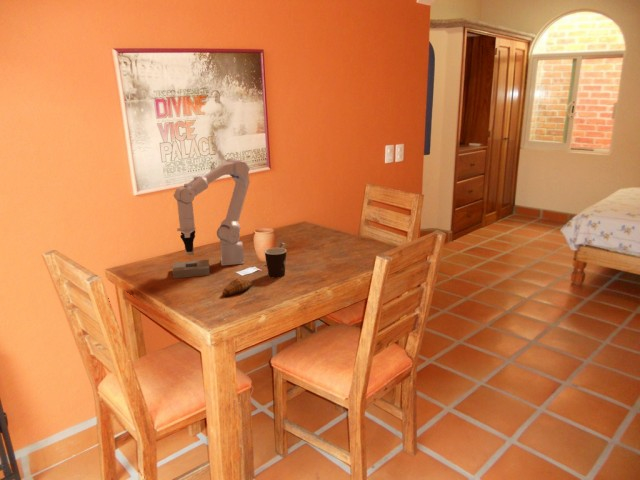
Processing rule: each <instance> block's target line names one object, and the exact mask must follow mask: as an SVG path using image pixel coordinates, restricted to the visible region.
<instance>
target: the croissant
mask: <svg viewBox="0 0 640 480" xmlns="http://www.w3.org/2000/svg"><path fill="white" fill-rule="evenodd" d="M253 285H254V284H253V282H252V280H248V279H241V278H235V279H232V280H231V281H230V282H229V283H228V284H227V285H226V286H225V287H224V288H223V291H222V293H221V294H222V296H224V297H227V296H233V295H236V294H239V293H244V292H245V291H246V290H249V289H250V288H251V287H252V286H253Z"/></svg>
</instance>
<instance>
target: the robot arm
mask: <svg viewBox="0 0 640 480" xmlns="http://www.w3.org/2000/svg"><path fill="white" fill-rule="evenodd" d="M249 171H250V166H249V165H248V163H247V162H246V161H245V160H243V159H234V158H231V157H230V158H227V159H225V160H224V161H222V162H221V163H220V164H219V165H217V166H216V167H215V168H214V169H212V170H211V171H209V172H208V173H206V175H204V176H201V175H198V176H193V179H192V180H191V181H189V182H187V183H184V184H183V186H179V187H177V188H175V191H174V194H173V197H174V199H175V200H176V202H177V203H176V204H177V212H178V222H179V223H178V224H179V227H178V228H177V229H176V232H180V239H181V240H182V242H183V244H184V249H185V248H186V251H187V252H192V250H193V246H194V240H195V238H196V227H195V216H194V206H193V205H194V204H193V202H194V199H195V197H196V196H198V195H199V194H201V193H203V192H204V191H206V190H208V187H209V184H210V183H213V182H214V181H216V180H217V179H220V178H221V177H223V176H225V175H229V176H230V177H231V178H232V179H233V181H234V183H235V184H234V188H233V192H232V195H231V199H230V200H229V201H230V202H229V205H228V209H227V212H226V217H225V219H223V220H222V221H221V222H220V226H219V227H218V228H217V230H216V237H217V238H218V239H219V242H220V254H221V256H220V257H221V259H220V263H221V264H220V265H221V266H232V265H241V264H242V265H243V264H245V262H244V260H245V254H244V247H243V246H244V245H243V241H239V240H240V239H241V233H240V232H241V225H240V223H239V221H240V217H241V214H242V210H243V207H244V203H245V200H246V195H247V192H248V189H249V185H250V175H249Z"/></svg>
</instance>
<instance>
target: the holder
mask: <svg viewBox="0 0 640 480" xmlns="http://www.w3.org/2000/svg"><path fill="white" fill-rule="evenodd" d="M209 275H210V262H209V259H203V260H202V259H201V260H191V261H180V262H179V261H177V262H173V266H172V278H173V279H179V278H180V279H181V278H191V277H200V276H203V277H204V276H209Z"/></svg>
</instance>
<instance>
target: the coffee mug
mask: <svg viewBox="0 0 640 480" xmlns="http://www.w3.org/2000/svg"><path fill="white" fill-rule="evenodd" d="M264 257H265V262H266V268H267V274H268V277H269V276H270V278H272V277H274V278H273V279H277V278H278V277H280V278H282V276H283V277H284V276H285V275H286V265H287V264H286V263H287V249H286V248H285V247H284V248H279V247H271V248H267V249H265V250H264ZM278 279H279V278H278Z"/></svg>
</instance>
